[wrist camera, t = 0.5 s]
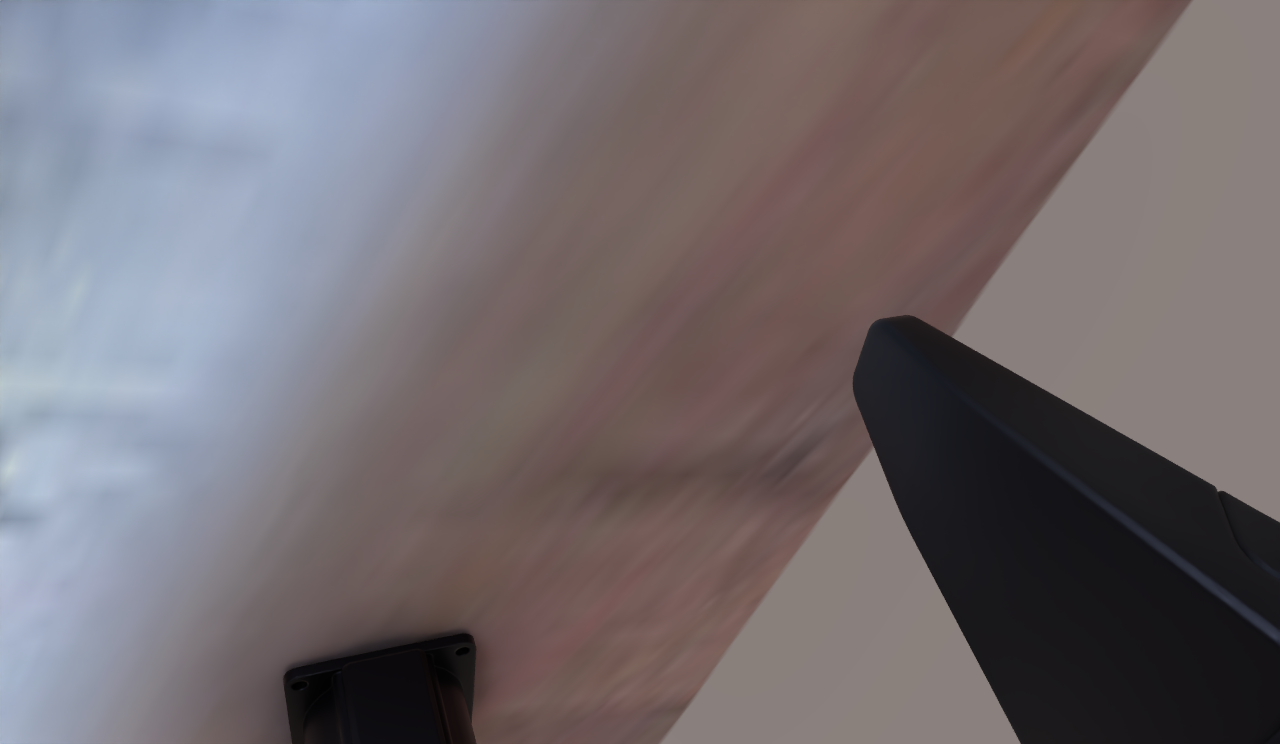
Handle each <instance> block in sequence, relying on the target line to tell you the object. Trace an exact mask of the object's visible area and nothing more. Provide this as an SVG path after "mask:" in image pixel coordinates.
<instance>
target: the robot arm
mask: <svg viewBox="0 0 1280 744" xmlns="http://www.w3.org/2000/svg"><path fill="white" fill-rule="evenodd" d="M853 392H854V396H855V400H856V402H857V405H858V407H859V410H860V412H861V415H862V418H863V420H864V423H865V425H866V428H867V430H868V433H869V435H870V438H871V440H872V443H873V446H874V448H875V450H876V453H877V456H878V458H879V461H880V463H881V466H882V468H883V471H884V474H885V476H886V478H887V481H888V484H889V486H890V489H891V491H892V494H893V496H894V499H895V501H896V503H897V505H898V508H899V510H900V513H901V515H902V517H903V519H904V521H905V523H906V525H907V527H908V529H909V531H910V533H911V536H912V537H913V539H914V541H915V543H916V545H917V547H918V549H919V551H920V553H921V554H922V557H923V558H924V560H925V562H926V564H927V566H928V568H929V570H930V572H931V573H932V576H933V577H934V579H935V581H936V583H937V585H938V587H939V589H940V591H941V593H942V595H943V596H944V598H945V600H946V602H947V604H948V606H949V608H950V610H951V612H952V614H953V615H954V617H955V619H956V621H957V623H958V625H959V627H960V629H961V631H962V632H963V635H964V636H965V638H966V640H967V642H968V644H969V646H970V648H971V650H972V652H973V653H974V655H975V657H976V659H977V661H978V663H979V665H980V667H981V669H982V671H983V673H984V674H985V676H986V678H987V680H988V682H989V684H990V686H991V688H992V689H993V691H994V693H995V695H996V697H997V699H998V701H999V703H1000V705H1001V707H1002V709H1003V711H1004V712H1005V714H1006V716H1007V718H1008V720H1009V722H1010V724H1011V726H1012V728H1013V729H1014V731H1015V733H1016V735H1017V737H1018V739H1019V741H1020V743H1021V744H1280V522H1278V521H1276V520H1274V519H1272V518H1271V517H1269V516H1267V515H1265V514H1263V513H1261V512H1259V511H1258V510H1256V509H1254V508H1252V507H1251V506H1249V505H1247V504H1245V503H1244V502H1242V501H1240V500H1238V499H1237V498H1235V497H1233V496H1231V495H1230V494H1228V493H1226V492H1224V491H1219V492H1218V491H1217V489H1216V487H1215V486H1213V485H1212V484H1210V483H1208V482H1206V481H1204V480H1203V479H1201V478H1199V477H1198V476H1196V475H1194V474H1192V473H1190V472H1188V471H1187V470H1185V469H1183V468H1182V467H1180V466H1178V465H1176V464H1174V463H1173V462H1171V461H1169V460H1167V459H1166V458H1164V457H1162V456H1160V455H1159V454H1157V453H1155V452H1153V451H1152V450H1150V449H1148V448H1146V447H1144V446H1143V445H1141V444H1139V443H1137V442H1136V441H1134V440H1132V439H1130V438H1129V437H1127V436H1125V435H1123V434H1121V433H1120V432H1118V431H1116V430H1115V429H1113V428H1111V427H1109V426H1107V425H1106V424H1104V423H1102V422H1100V421H1098V420H1097V419H1095V418H1093V417H1092V416H1090V415H1088V414H1086V413H1084V412H1083V411H1081V410H1079V409H1077V408H1075V407H1074V406H1072V405H1070V404H1069V403H1067V402H1065V401H1063V400H1061V399H1060V398H1058V397H1056V396H1054V395H1053V394H1051V393H1049V392H1047V391H1045V390H1044V389H1042V388H1040V387H1038V386H1037V385H1035V384H1033V383H1031V382H1030V381H1028V380H1026V379H1024V378H1023V377H1021V376H1019V375H1017V374H1016V373H1014V372H1012V371H1010V370H1009V369H1007V368H1005V367H1003V366H1001V365H1000V364H998V363H996V362H994V361H993V360H991V359H989V358H987V357H986V356H984V355H982V354H980V353H978V352H977V351H975V350H973V349H971V348H970V347H968V346H966V345H964V344H963V343H961V342H959V341H957V340H955V339H954V338H952V337H950V336H948V335H947V334H945V333H943V332H941V331H940V330H938V329H936V328H934V327H933V326H931V325H929V324H927V323H925V322H924V321H922V320H920V319H918V318H916V317H914V316H910V315H903V316H897V317H890V318H883V319H879V320H877V321H875V322H874V323H873V324H872V325H871V326H870V328H869V331H868V333H867V336H866V339H865V342H864V345H863V348H862V351H861V354H860V357H859V360H858V363H857V366H856V369H855V372H854V375H853ZM475 660H476V646H475V642H474V638H473V636H472V635H470V634H458V635H453V636H448V637H443V638H438V639H433V640H429V641H424V642H419V643H414V644H409V645H404V646H399V647H394V648H390V649H385V650H380V651H375V652H370V653H365V654H360V655H355V656H351V657H346V658H341V659H336V660H331V661H326V662H321V663H316V664H312V665H307V666H302V667H297V668H294V669H291V670H290V671H288V672H287V673H286V674H285V675H284V678H283V681H284V690H285V697H286V703H287V710H288V717H289V723H290V730H291V737H292V743H293V744H476V740H475V736H474V732H473V728H472V708H473V692H474V676H475Z"/></svg>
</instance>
